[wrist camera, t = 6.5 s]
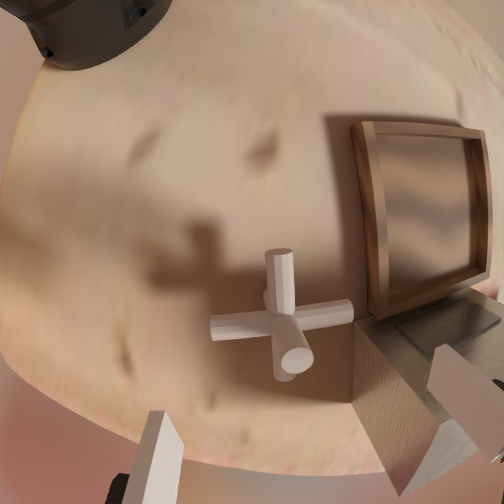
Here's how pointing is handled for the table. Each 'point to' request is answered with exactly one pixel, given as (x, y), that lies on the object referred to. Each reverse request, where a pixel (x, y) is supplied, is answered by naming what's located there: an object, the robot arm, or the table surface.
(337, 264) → the table surface
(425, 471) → the box
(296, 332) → the pipe connector
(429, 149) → the tray
